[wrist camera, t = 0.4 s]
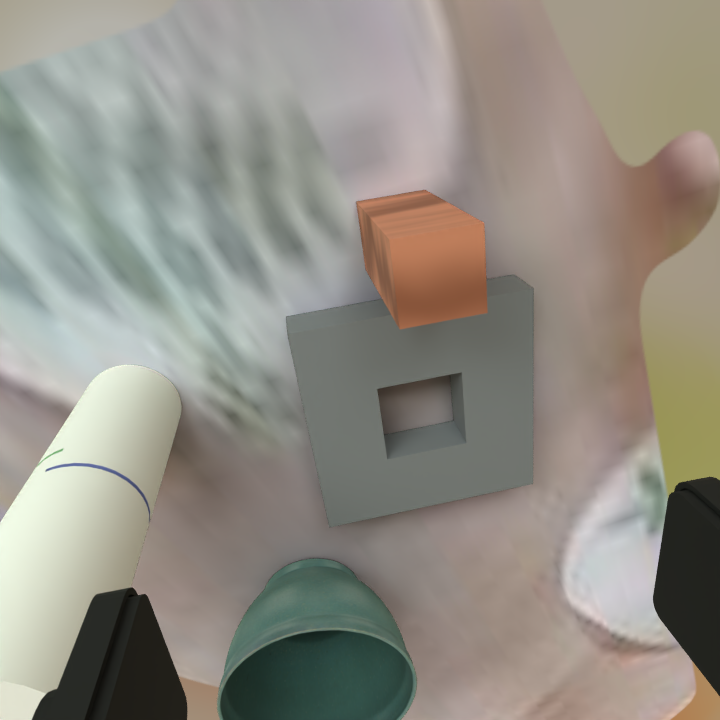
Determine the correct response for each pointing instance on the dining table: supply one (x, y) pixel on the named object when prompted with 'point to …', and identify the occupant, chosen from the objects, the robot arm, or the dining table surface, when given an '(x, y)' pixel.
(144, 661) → the robot arm
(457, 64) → the dining table surface
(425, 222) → the peg
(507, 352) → the socket block
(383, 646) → the green bowl
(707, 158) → the dining table surface
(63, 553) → the cylindrical container
